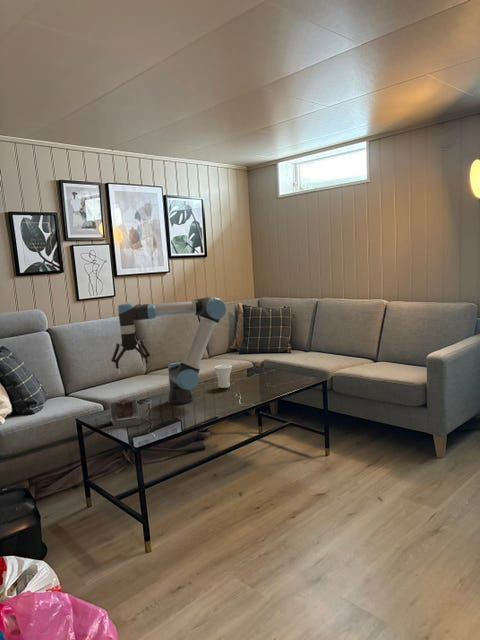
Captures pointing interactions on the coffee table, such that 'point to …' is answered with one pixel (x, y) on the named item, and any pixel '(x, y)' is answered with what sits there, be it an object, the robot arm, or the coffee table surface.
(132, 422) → the scale
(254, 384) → the coffee table surface
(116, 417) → the pan
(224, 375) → the cup
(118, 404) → the box
